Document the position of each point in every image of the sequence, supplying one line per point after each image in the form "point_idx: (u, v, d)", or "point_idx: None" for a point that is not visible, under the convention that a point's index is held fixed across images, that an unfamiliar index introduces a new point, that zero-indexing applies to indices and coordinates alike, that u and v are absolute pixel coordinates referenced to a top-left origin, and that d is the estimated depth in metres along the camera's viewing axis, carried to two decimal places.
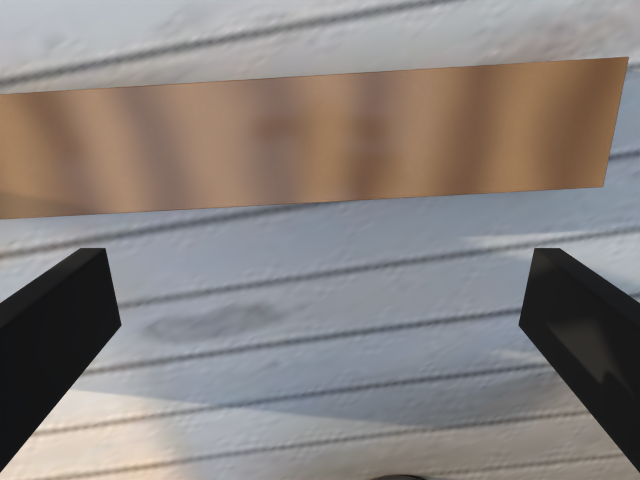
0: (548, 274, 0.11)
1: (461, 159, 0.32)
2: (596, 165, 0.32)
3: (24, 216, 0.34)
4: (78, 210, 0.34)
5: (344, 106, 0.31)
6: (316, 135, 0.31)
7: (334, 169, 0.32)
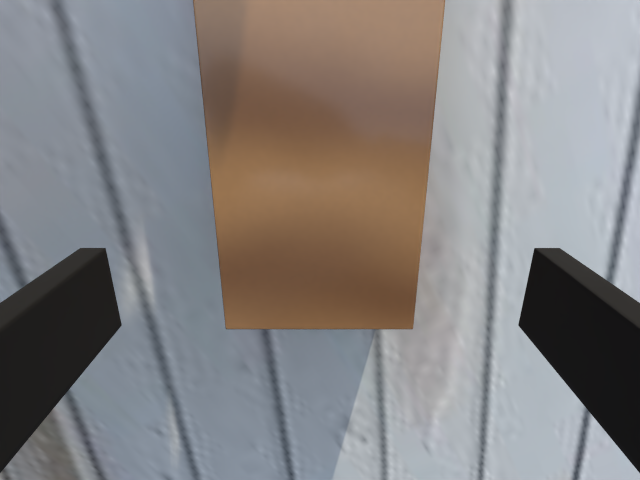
0: (548, 274, 0.11)
1: (271, 88, 0.17)
2: (259, 314, 0.21)
3: None
4: None
5: None
6: None
7: None
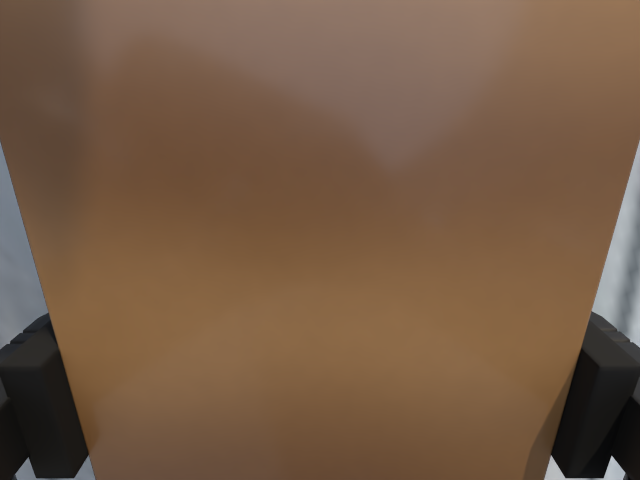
0: None
1: (183, 95, 0.06)
2: None
3: None
4: None
5: None
6: None
7: None
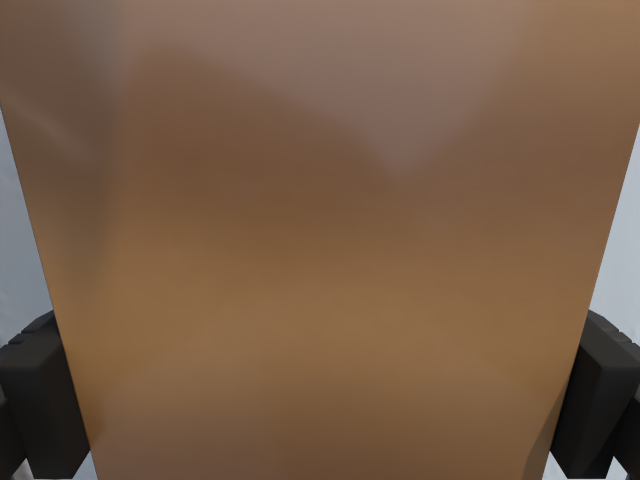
0: None
1: (186, 90, 0.06)
2: None
3: None
4: None
5: None
6: None
7: None
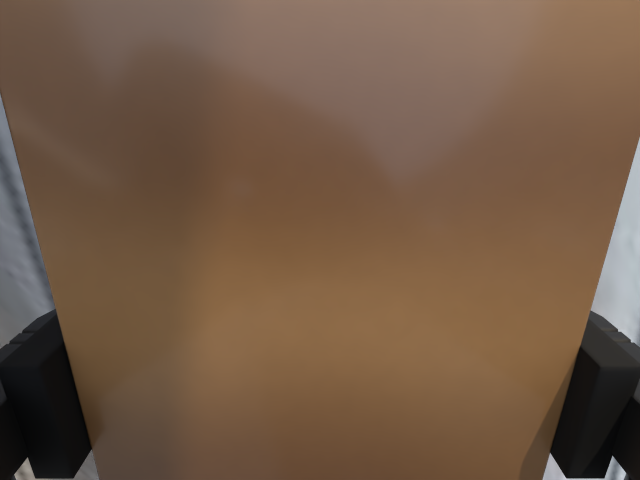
0: None
1: (191, 90, 0.06)
2: None
3: None
4: None
5: None
6: None
7: None
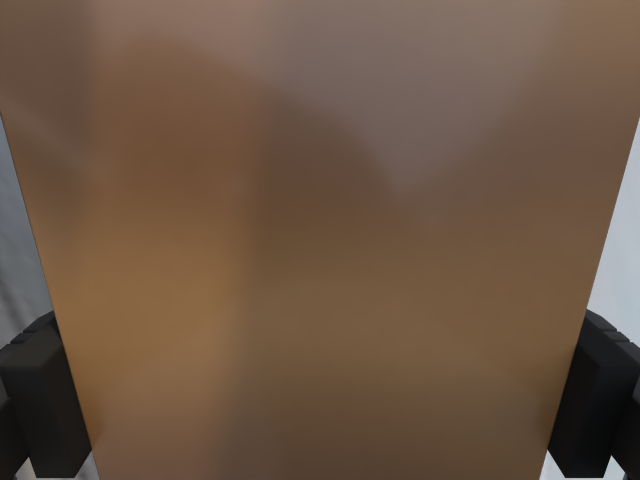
0: None
1: (186, 90, 0.06)
2: None
3: None
4: None
5: None
6: None
7: None
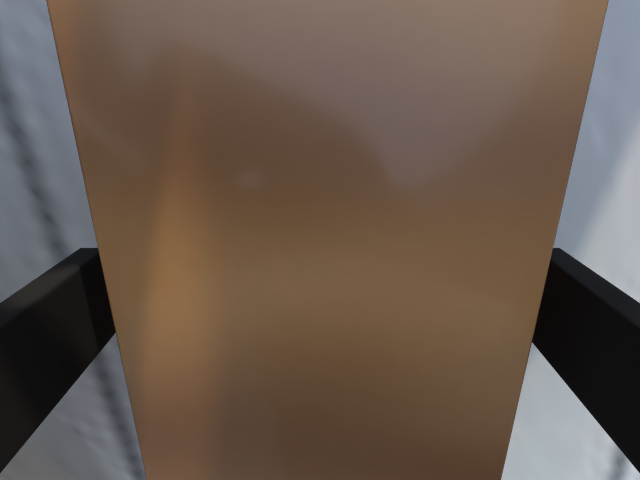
0: (548, 274, 0.11)
1: (218, 94, 0.08)
2: None
3: None
4: None
5: None
6: None
7: None
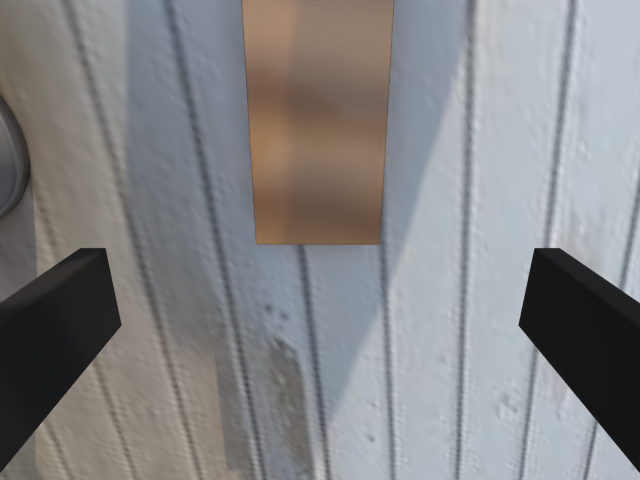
0: (548, 274, 0.11)
1: (288, 85, 0.28)
2: (278, 234, 0.31)
3: None
4: None
5: None
6: None
7: None
